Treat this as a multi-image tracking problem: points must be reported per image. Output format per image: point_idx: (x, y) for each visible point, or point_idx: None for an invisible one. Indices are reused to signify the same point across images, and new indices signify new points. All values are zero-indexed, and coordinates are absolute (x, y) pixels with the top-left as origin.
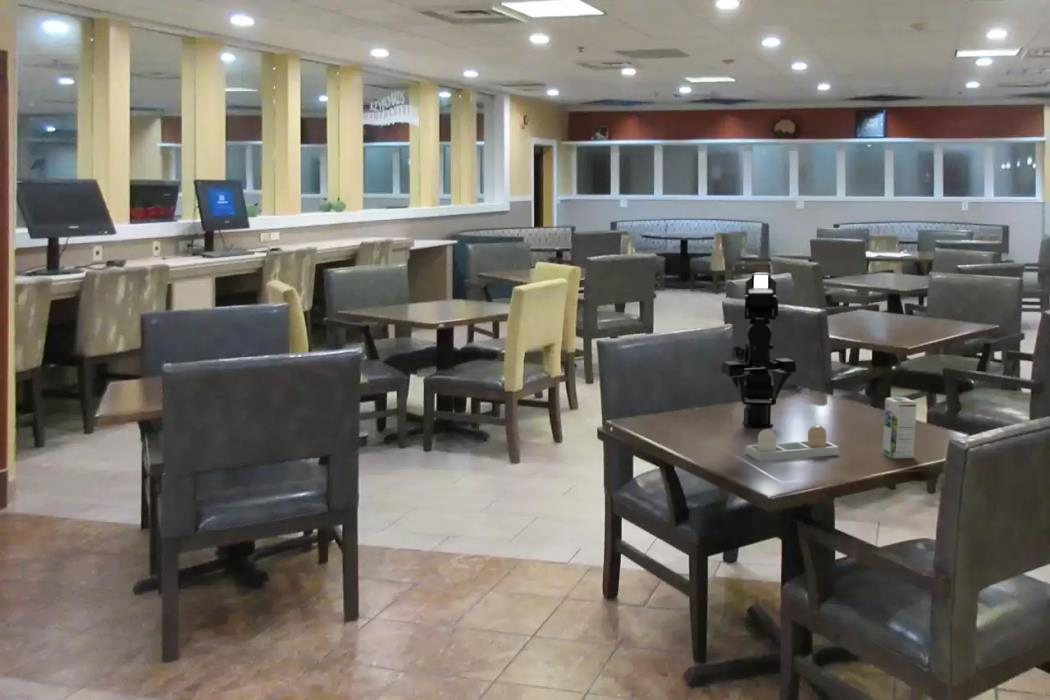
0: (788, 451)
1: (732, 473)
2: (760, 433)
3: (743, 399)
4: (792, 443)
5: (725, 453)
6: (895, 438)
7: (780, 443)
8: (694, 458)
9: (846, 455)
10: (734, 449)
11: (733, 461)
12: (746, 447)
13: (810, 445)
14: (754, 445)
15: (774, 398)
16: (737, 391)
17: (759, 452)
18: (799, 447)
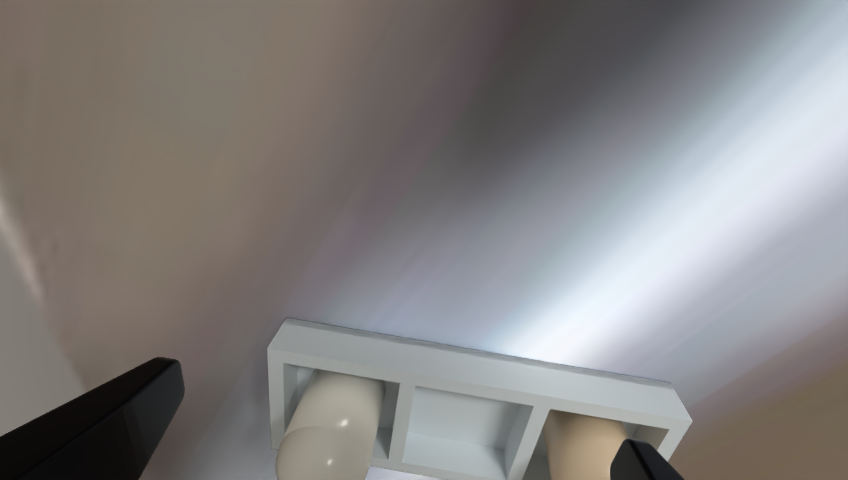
0: (401, 469)
1: None
2: (277, 474)
3: (169, 422)
4: (508, 398)
5: (210, 254)
6: None
7: (445, 388)
8: (48, 260)
9: None
10: (281, 215)
11: (201, 358)
12: (271, 346)
13: (548, 458)
14: (307, 362)
15: (613, 468)
16: (2, 451)
17: (275, 441)
18: (524, 407)
